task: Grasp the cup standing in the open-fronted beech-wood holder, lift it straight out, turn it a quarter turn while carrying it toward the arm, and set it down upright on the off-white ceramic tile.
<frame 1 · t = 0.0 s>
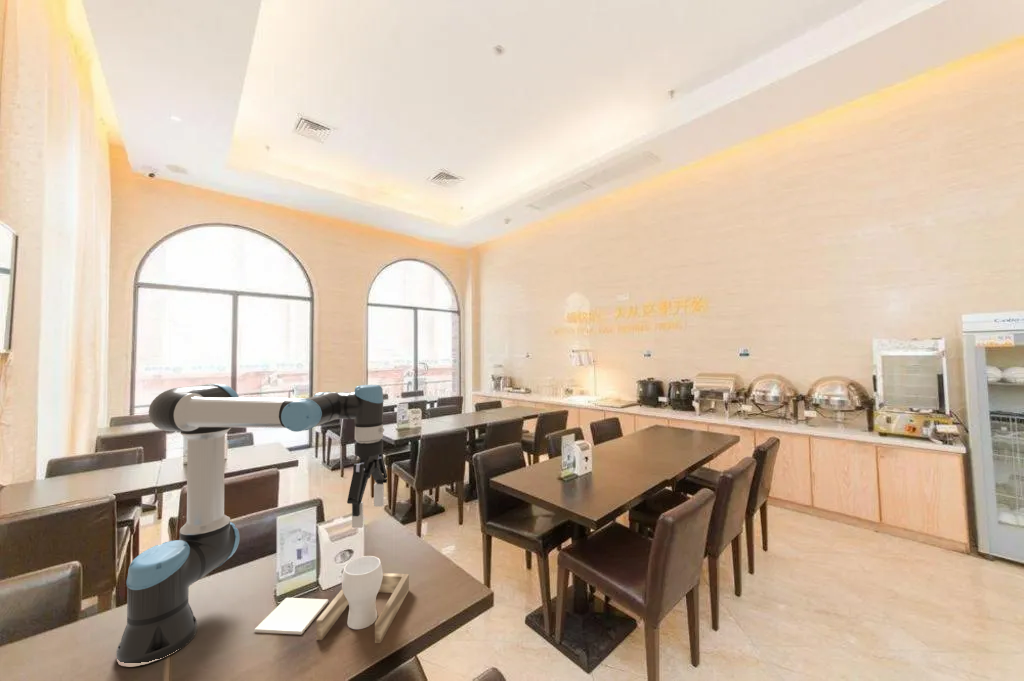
hand: (368, 515, 109), 28 cm above the table, fingers open, 13 cm apart
cup: (362, 620, 108), on the table
tile: (293, 616, 109), on the table
holder: (362, 619, 108), on the table
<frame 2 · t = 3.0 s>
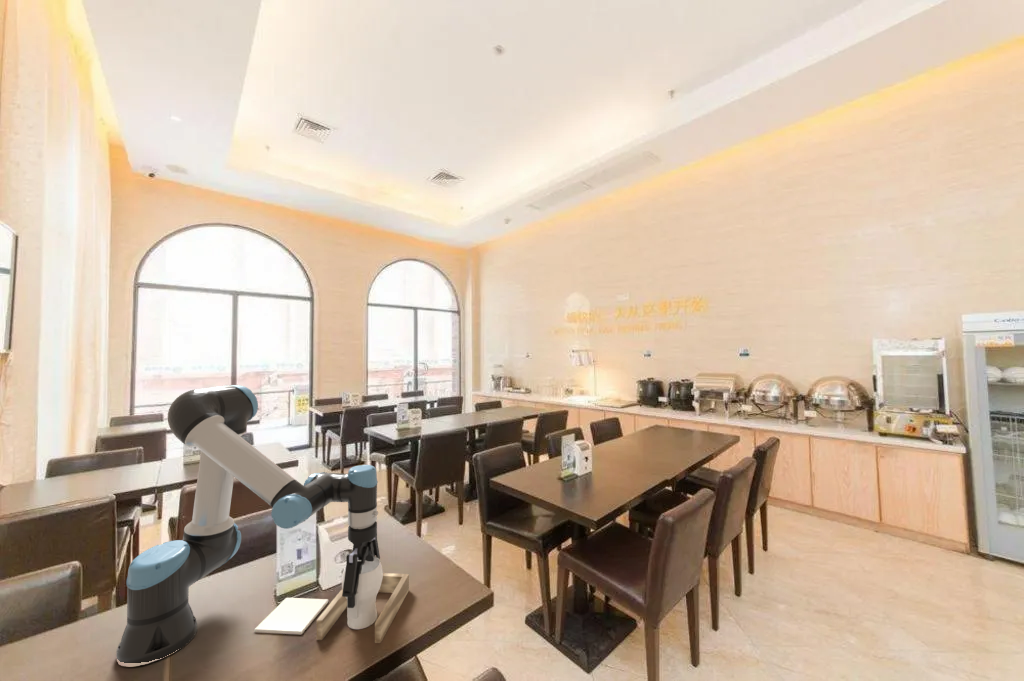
hand: (362, 603, 108), 4 cm above the table, fingers closed on cup, 10 cm apart
cup: (362, 620, 108), on the table, touching gripper
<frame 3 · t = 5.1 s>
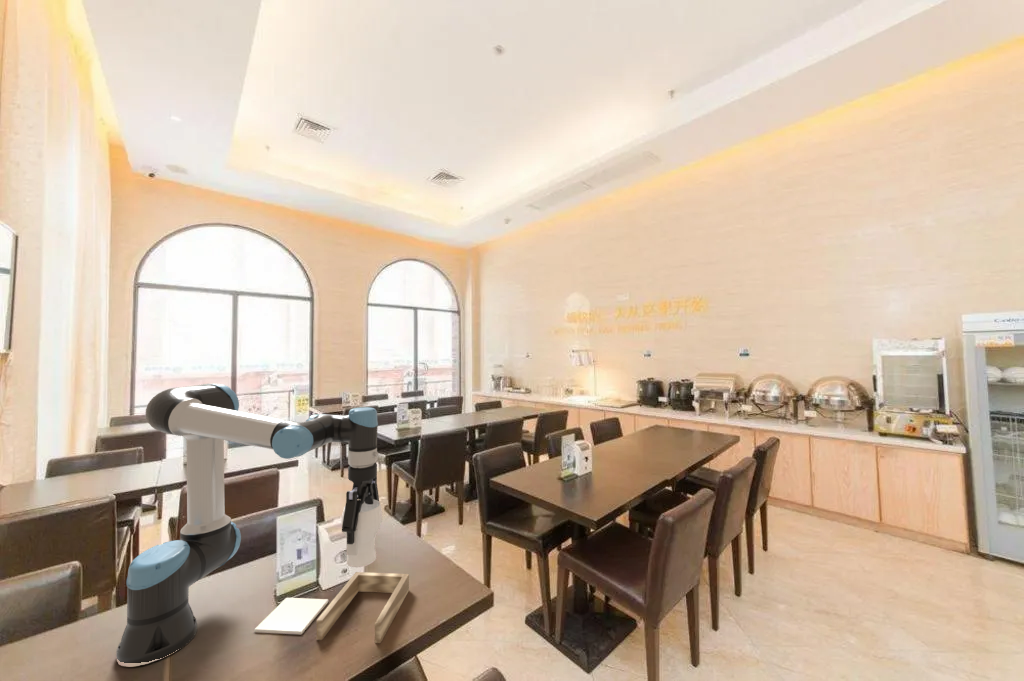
hand: (361, 543, 108), 21 cm above the table, fingers closed on cup, 10 cm apart
cup: (361, 560, 108), point 16 cm above the table, touching gripper
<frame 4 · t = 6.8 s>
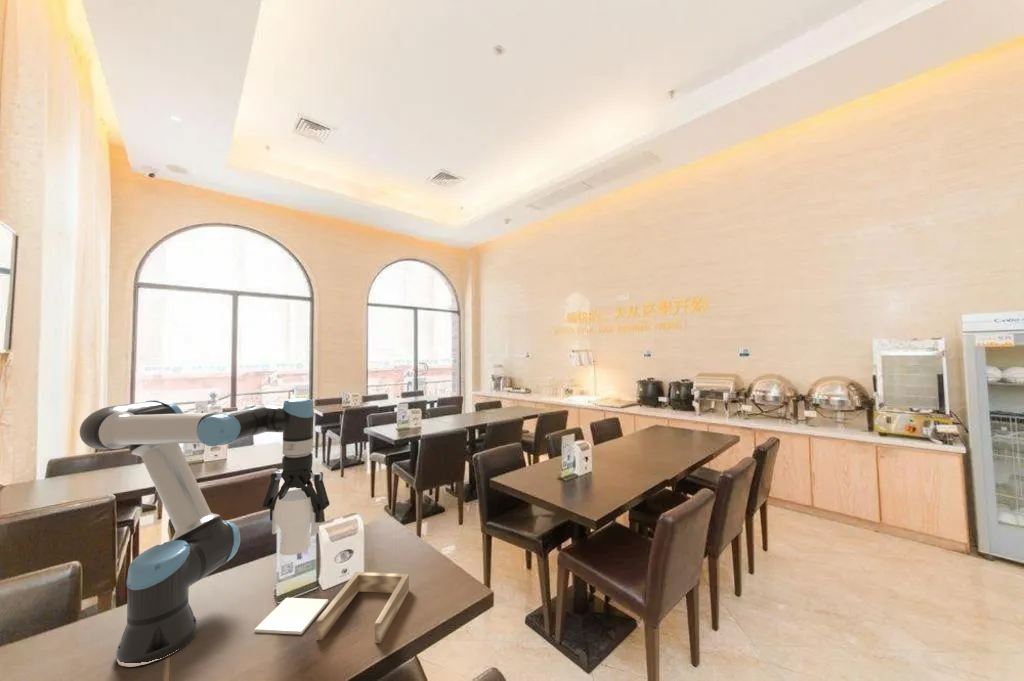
hand: (295, 532, 109), 23 cm above the table, fingers closed on cup, 10 cm apart
cup: (295, 549, 109), point 19 cm above the table, touching gripper
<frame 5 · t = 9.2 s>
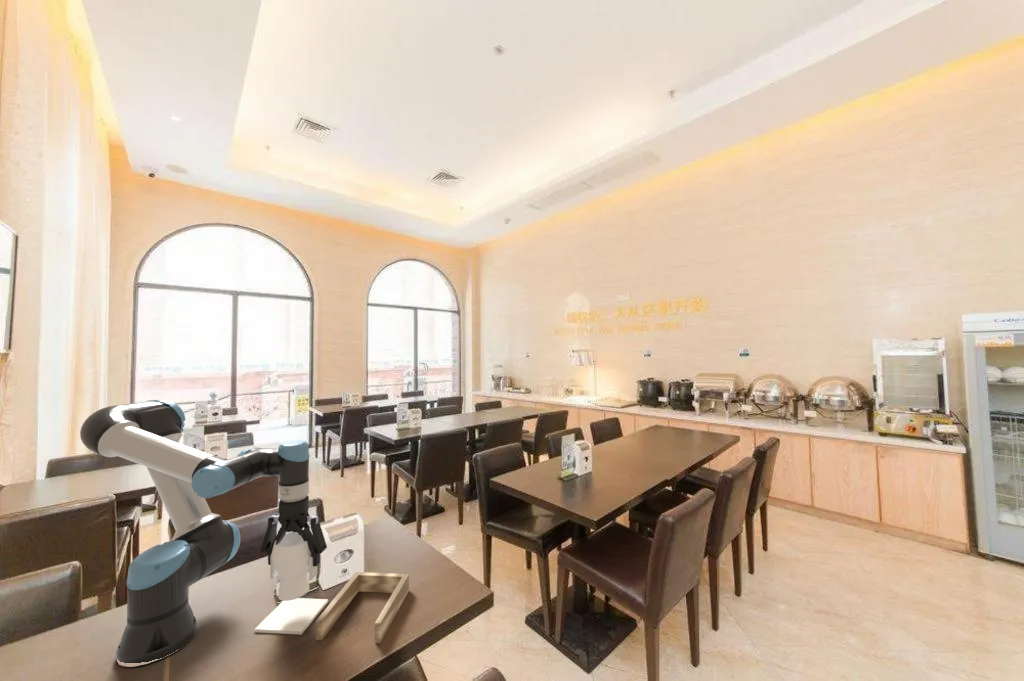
hand: (294, 576, 109), 11 cm above the table, fingers closed on cup, 10 cm apart
cup: (293, 592, 109), point 7 cm above the table, touching gripper
when the fingers open (6 cm above the table, at t = 10.8 s): cup drops 1 cm, resting on tile.
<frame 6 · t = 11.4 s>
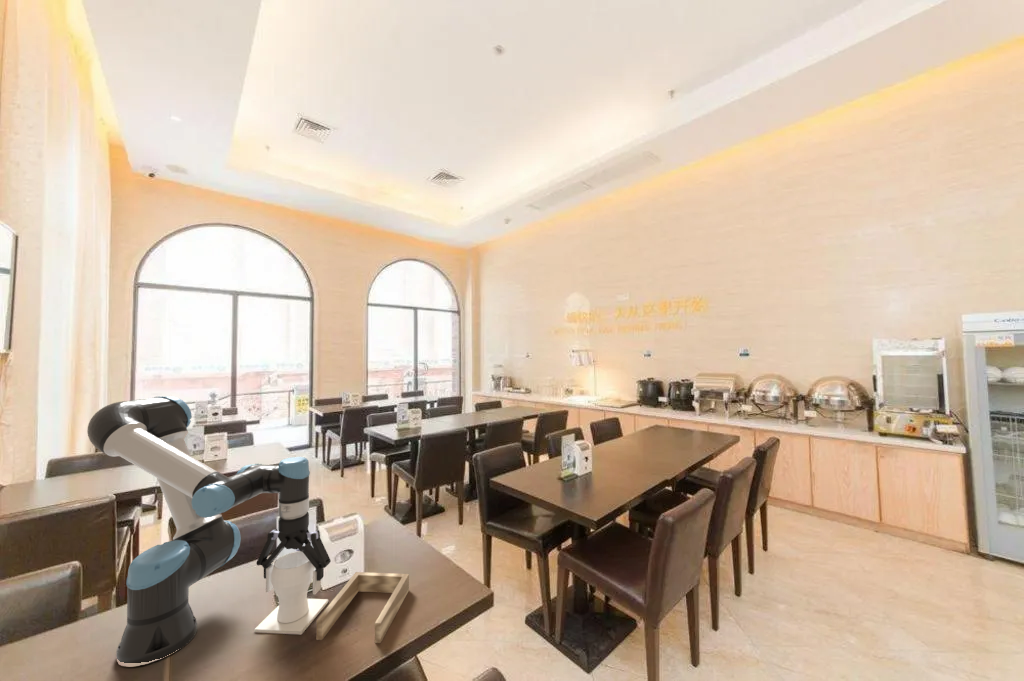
hand: (293, 590, 109), 7 cm above the table, fingers open, 13 cm apart
cup: (293, 614, 109), point 1 cm above the table, touching tile
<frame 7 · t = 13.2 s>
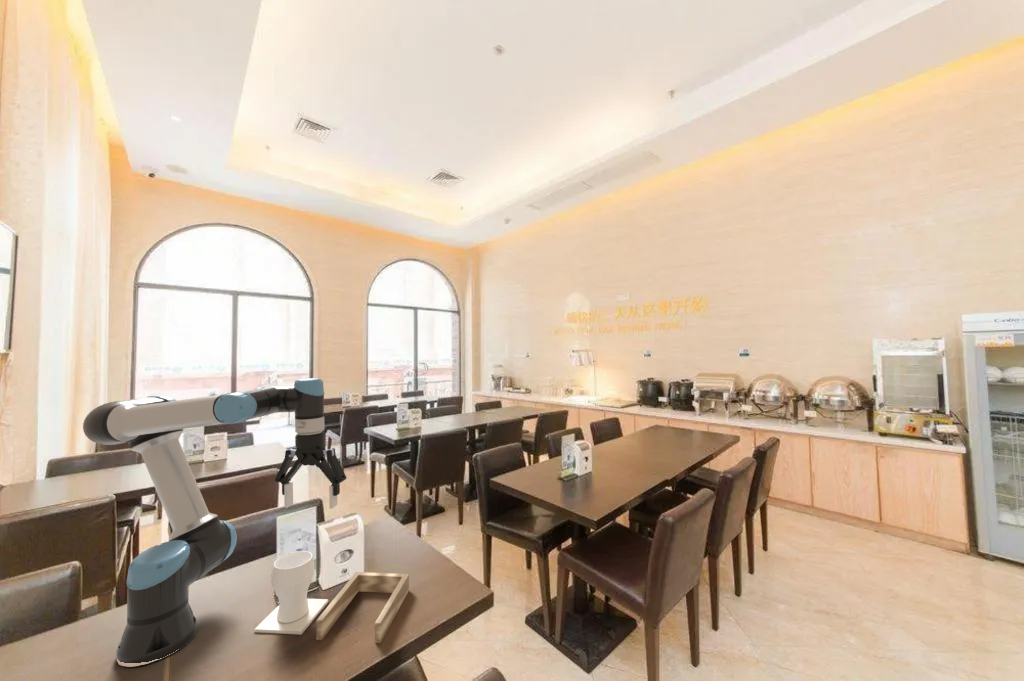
hand: (311, 506, 112), 30 cm above the table, fingers open, 13 cm apart
nothing on the table moved.
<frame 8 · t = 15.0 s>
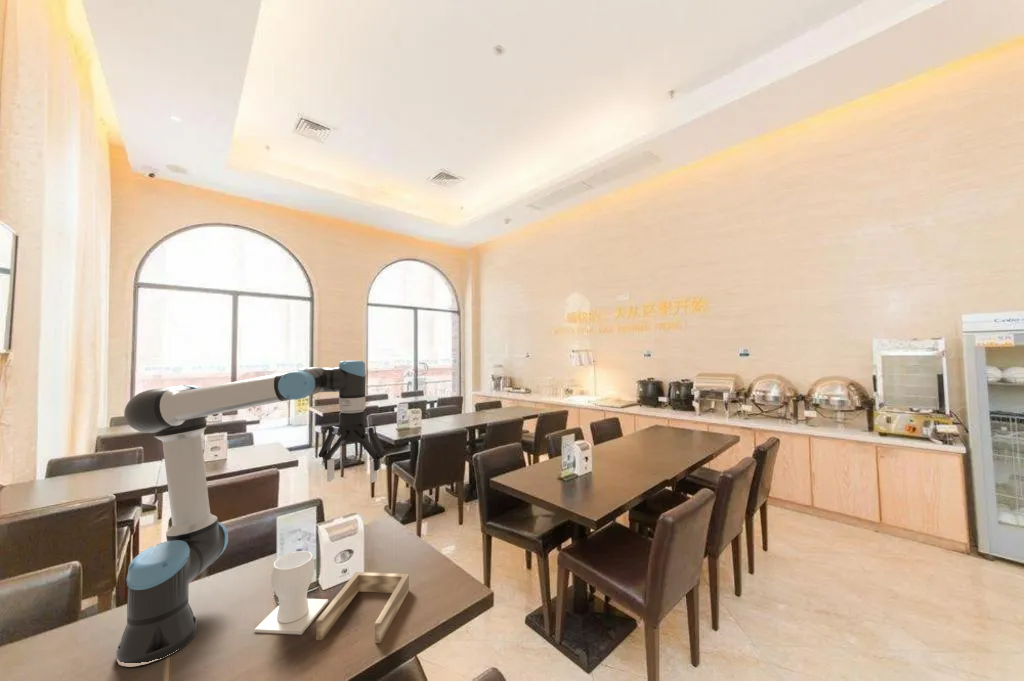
hand: (352, 480, 119), 35 cm above the table, fingers open, 13 cm apart
nothing on the table moved.
at the end: cup inside the target area on the tile (0.1 cm from its centre), point 0.6 cm above the tile's base; cup tilted 0°; the gripper is holding nothing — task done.
